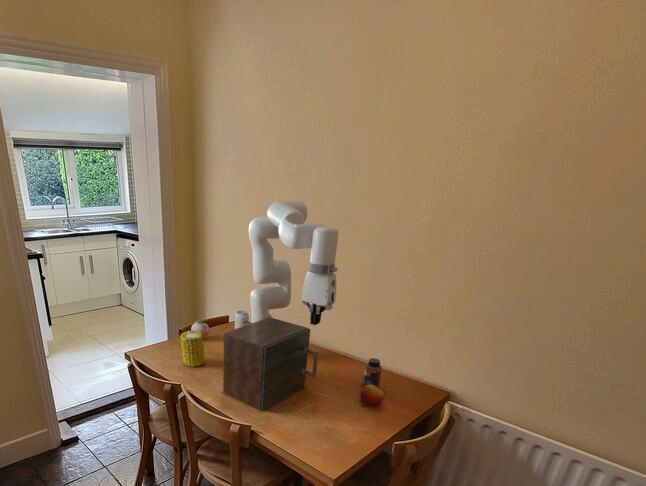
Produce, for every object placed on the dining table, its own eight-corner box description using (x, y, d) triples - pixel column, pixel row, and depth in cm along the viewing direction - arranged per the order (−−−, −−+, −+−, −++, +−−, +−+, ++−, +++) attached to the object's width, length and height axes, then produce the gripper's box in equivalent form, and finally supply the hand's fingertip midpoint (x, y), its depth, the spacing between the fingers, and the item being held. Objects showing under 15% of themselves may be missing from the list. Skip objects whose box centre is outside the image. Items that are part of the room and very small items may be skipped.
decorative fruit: (187, 339, 207) (187, 320, 202) (199, 335, 212) (198, 316, 208) (201, 344, 201) (200, 324, 197) (212, 339, 206) (212, 320, 202)
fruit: (350, 394, 150) (364, 377, 148) (366, 403, 153) (380, 387, 150) (359, 406, 143) (374, 388, 140) (376, 415, 145) (391, 397, 143)
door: (317, 391, 156) (324, 332, 146) (275, 416, 140) (280, 352, 129) (302, 385, 160) (308, 328, 150) (260, 409, 144) (264, 347, 134)
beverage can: (244, 337, 208) (244, 315, 203) (232, 335, 211) (232, 313, 206) (250, 333, 213) (251, 311, 208) (238, 331, 217) (239, 309, 212)
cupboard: (302, 385, 160) (308, 327, 150) (260, 410, 144) (263, 346, 134) (266, 371, 172) (269, 317, 162) (223, 392, 156) (223, 333, 145)
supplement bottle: (378, 384, 161) (383, 358, 156) (378, 391, 156) (383, 364, 151) (362, 382, 163) (366, 356, 158) (362, 389, 158) (366, 362, 153)
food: (208, 365, 181) (190, 373, 176) (191, 352, 188) (174, 359, 182) (212, 337, 172) (193, 344, 166) (194, 324, 179) (176, 330, 173)
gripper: (349, 270, 126) (340, 326, 134) (307, 263, 136) (302, 316, 144) (336, 274, 122) (328, 332, 130) (294, 266, 131) (289, 321, 139)
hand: (314, 323), depth 137 cm, fingers closed
